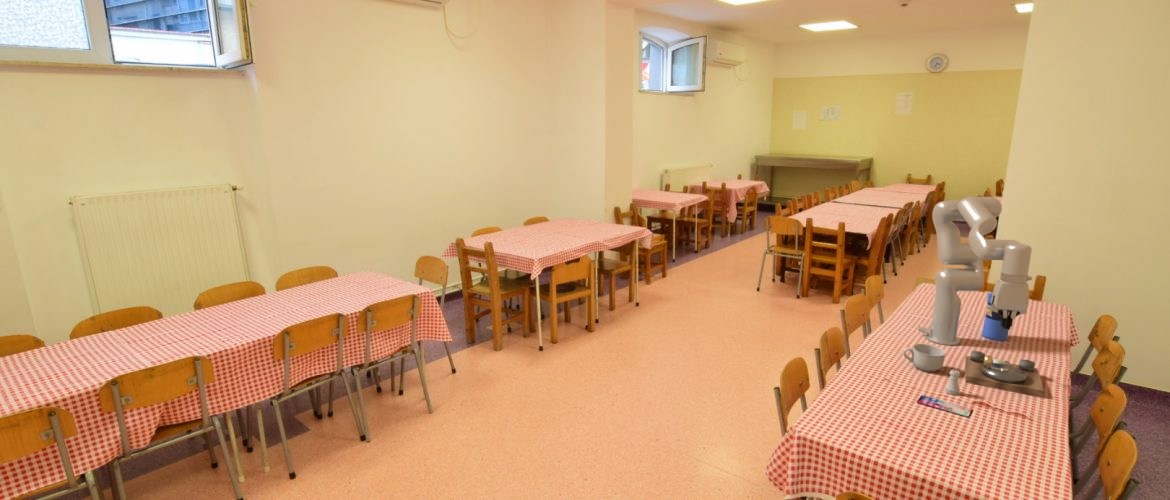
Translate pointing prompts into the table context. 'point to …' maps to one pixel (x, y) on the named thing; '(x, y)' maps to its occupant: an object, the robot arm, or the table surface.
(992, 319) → the water bottle
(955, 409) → the smartphone
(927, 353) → the teacup
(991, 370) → the silver metal dome
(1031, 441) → the table surface
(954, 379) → the rook chess piece
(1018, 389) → the levelling base
